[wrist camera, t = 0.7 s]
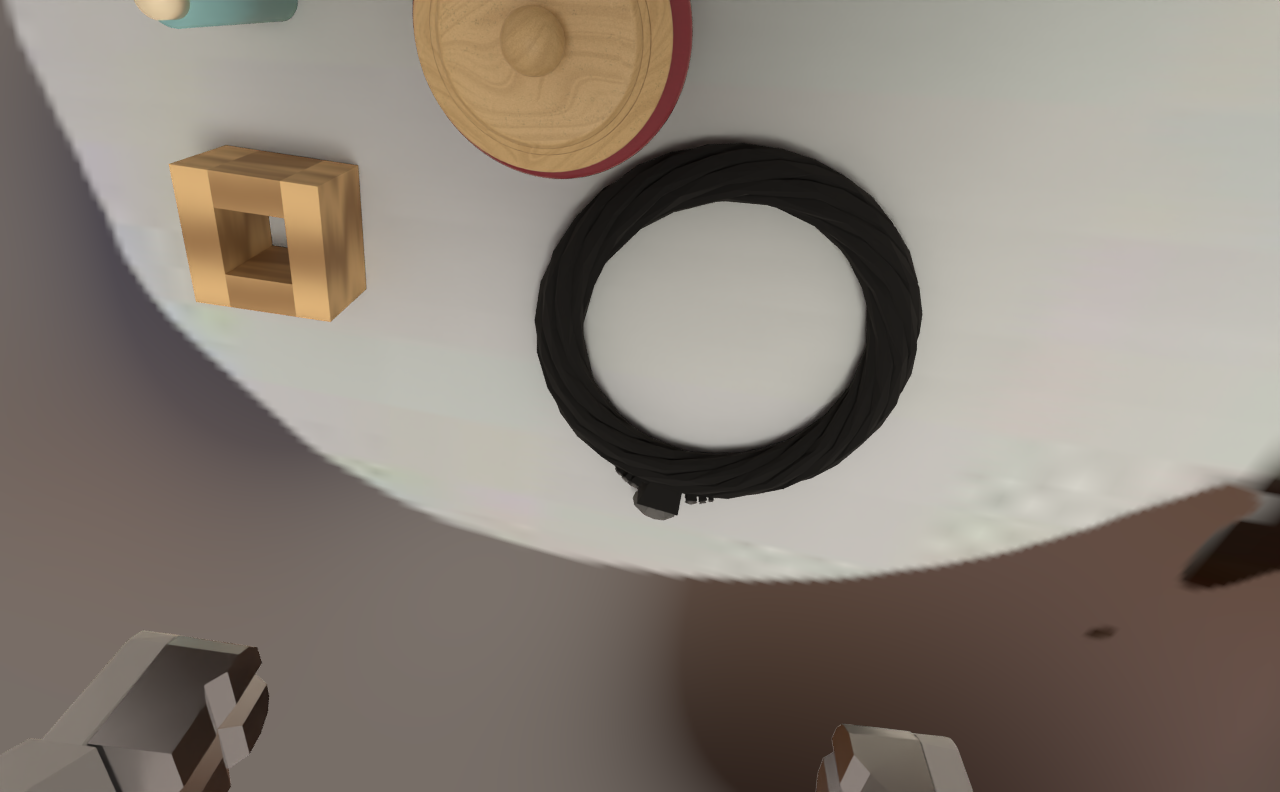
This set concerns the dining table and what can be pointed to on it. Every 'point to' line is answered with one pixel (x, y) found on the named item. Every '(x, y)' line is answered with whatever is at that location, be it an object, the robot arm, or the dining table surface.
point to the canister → (555, 76)
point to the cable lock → (745, 180)
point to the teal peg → (216, 12)
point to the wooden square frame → (241, 239)
